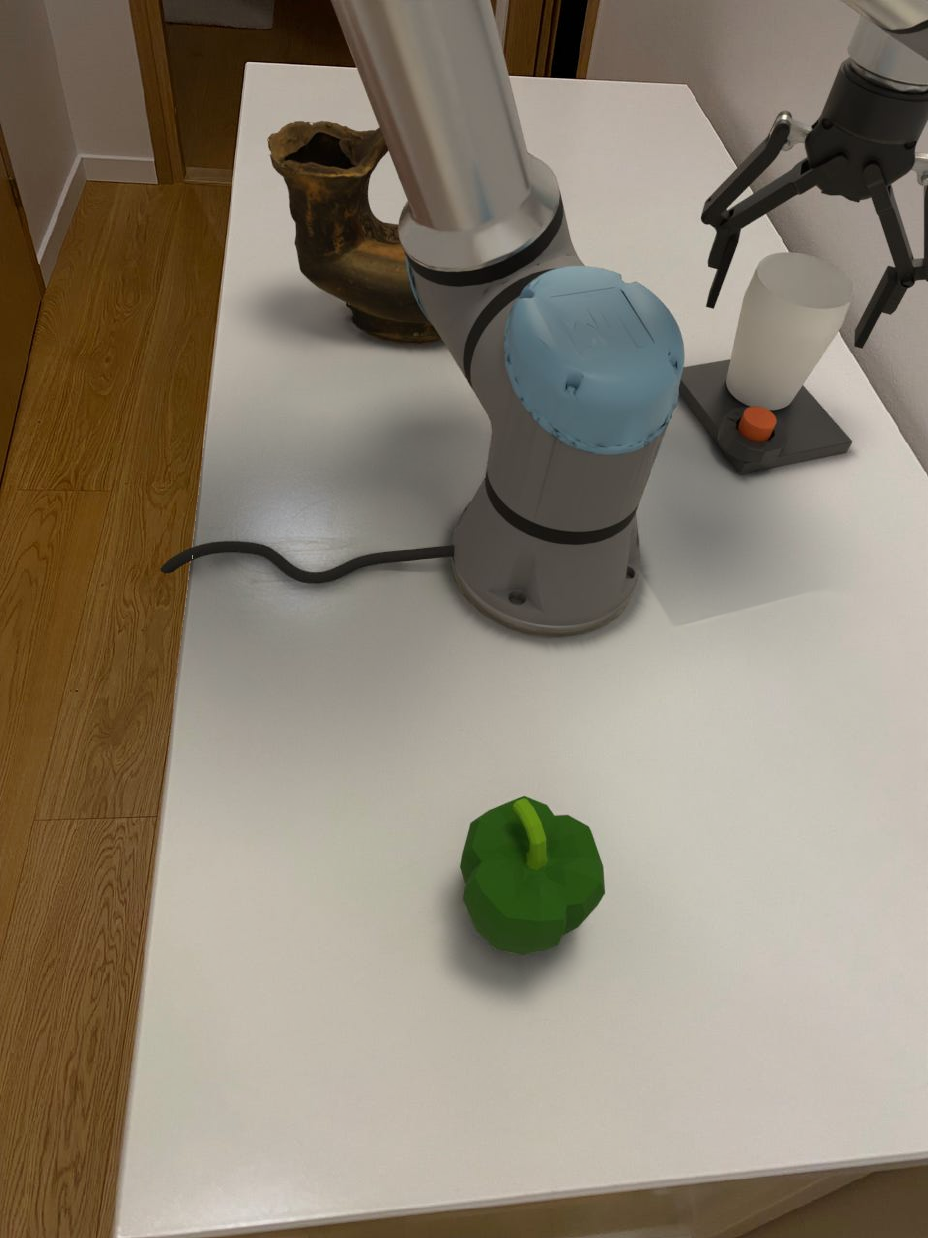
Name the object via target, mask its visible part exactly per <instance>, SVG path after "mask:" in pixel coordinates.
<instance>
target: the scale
mask: <svg viewBox="0 0 928 1238" xmlns="http://www.w3.org/2000/svg"><path fill="white" fill-rule="evenodd" d="M730 359H731V358H730ZM730 359H724V360H718V361H712V362H706V363H700V364H695V365H694V364H693V365H687V366H683V371H682V375H681V380H680V384H679V396H680V397H681V398H682V400H683V402H684V403H685V404H686V405H687V406H688V408H689V409H690V411H692V413H693V414H694V415H695V417H696V418H697V419H698V421H699V422H700V424H701V425H702V427H704V429H705V430H706V432H707V433H708V434H709V435H710V437H711V438H712V440H714V442H715V443H716V445H717V447H719V448H720V450H721V451H722V453H723V454H724V455H725V456H726V458H727V459H728V461H729V462H730V464H732V466H733V467H734V469H735V470H736V471H737V472H738V474H739V475H744V474H749V473H755V472H759V471H764V470H769V469H774V468H778V467H784V466H787V465H792V464H797V463H803V462H806V461H811V460H817V459H821V458H826V457H831V456H835V455H841V454H845V453H847V452H848V451H849V449H850V447H851V446H852V443H853V440H852V439H851V438H850V437H849V436H848V435H847V433H846V432H845V431H844V430H843V429H842V428H841V427H840V426H839V424H838V423H837V422H836V421H835V420H834V419H833V417H832V416H831V415H830V414H829V413H828V412H827V411H826V409H824V407H823V406H822V405H821V404H820V403H819V401H817V399H816V398H815V397H814V395H812V393H811V392H810V391H809V390H808V389H807V387H806V386H805V385H804V384H803V385H802V387H801V388H800V390H799V391H798V393H797V394H796V396H795V397H794V399H793V400H792V402H791V403H790V404H789V405H788V406H786V407H784V408H782V409H778V410H769V411H771V412H772V413H773V414H774V415H775V417H776V420H777V422H776V425H775V427H774V429H773V431H772V434H771V436H770V438H769V439H768V440H767V441H765V442H756V441H751V440H749V439H747V438H745V437H743V436H742V435H741V434H740V433H739V432H738V425H739V423H740V420H741V418H742V416H743V413H744V411H745V410H746V409H747V408H749V407H750V406H747V405H745V404H743V403H742V402H740V401H739V400H737V399H736V398H735V397H734V396H733V395H732V394H731V393H730V392H729V390H728V388H727V385H726V378H727V373H728V368H729V364H730Z"/></svg>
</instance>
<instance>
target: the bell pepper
mask: <svg viewBox="0 0 928 1238" xmlns="http://www.w3.org/2000/svg"><path fill="white" fill-rule="evenodd" d="M459 869H460V872H461V876H462V879H463V882H464V884H465V886H464V891H463V896H462V901H463V903H464V906H465V908H466V911H467V914H468V916H469V919H470V922H471V923H472V926H473V928H474V930H475V932H476V933H478V934H479V935H480V936H481V937H482V938H483V939H484V940H485V941H486V942H487V943H488V944H490V946H491V947H492V948H493V949H495V950H496V951H501V952H506V953H511V954H517V955H521V956H525V955H530V954H533V953H539V952H543V951H547V950H551V949H553V948H555V947H557V946H558V945H559V943H560V941H561V939H562V938H563V936H564V935H567V934H569V933H572V932H573V931H574V930H576V929H578V928H579V927H580V926H581V925H582V924H583V923H584V921H585V920H587V918H588V917H589V916H590V915H591V914H592V913H593V911H594V910H595V909H596V908H597V907H598V906H599V904H600V902H601V901H602V899H603V898H604V896H605V894H606V885H605V872H604V864H603V861H602V858H601V855H600V852H599V850H598V847H597V843H596V841H595V838H594V834H593V832H592V829H591V828H590V826H589V825H587V824H586V823H584V822H582V821H580V820H578V819H577V818H574V817H573V816H571V815H569V814H560V815H559V814H558V815H557V814H556V815H555V814H554V812H553V811H552V810H551V808H550V807H549V806H548V804H546V803H543V802H542V801H538V800H536V799H533V798H530V797H528V796H526V795H523V796H520V797H516V798H514V799H512V800H510V801H507V802H505V803H503V804H501V805H498V806H496V807H494V808H491V809H488V810H487V811H486V812H484V813H483V814H481V815H480V816H478V817H476V818H475V819H474V820H472V821H471V822H470V823H469V827H468V831H467V834H466V839H465V842H464V846H463V849H462V852H461V859H460V863H459Z"/></svg>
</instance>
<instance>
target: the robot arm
mask: <svg viewBox="0 0 928 1238" xmlns="http://www.w3.org/2000/svg"><path fill="white" fill-rule="evenodd" d="M839 1H840V2H841V3H843V4H844V5H846V6H847V7H848V8H850V9H851V10H853V11H854V12H856V13H857V14H858V15H860V17H859V19H858V21H857V24H856V26H855V29H854V31H853V34H852V37H851V39H850V41H849V43H848V46H847V48H846V49H847V54H848V57H847V58H846V59H844V60H843V61H842V62H841V63H840V65H839V68H838V71H837V73H836V75H835V78H834V80H833V83H832V85H831V88H830V91H829V93H828V95H827V98H826V101H825V104H824V105H823V107H822V108H823V109H822V111H821V113H820V115H819V117H818V118H817V120H816V121H815V122H813V123H812V125H809V124H806V123H803V122H800V121H798V120H796V119H793V114H792V113H791V112H790V111H788V110H783V111H780V112H779V113H778V114H777V116H776V117H775V119H774V121H773V124H772V125H771V128H770V130H769V132H768V134H767V136H766V137H765V138H764V140H762V141H761V142H760V144H758V145H757V147H756V148H755V149H754V150H753V151H752V152H750V154H749V155H748V156H747V157H746V158H745V159H744V160H743V161H742V162H741V163H740V165H738V166H737V167H736V168H735V169H734V171H733V172H731V174H730V175H729V176H728V177H727V178H726V179H725V180H724V181H723V182H722V183H721V184H720V185H719V186H718V187H717V188H716V190H714V191H713V192H712V194H710V195H709V196H708V198H707V199H705V201H704V203H703V207H702V211H701V213H700V214H701V215H700V221H701V222H702V224H704V225H706V226H707V225H709V226H711V227H712V228H713V229H714V230H715V232H716V234H715V236H714V240H713V242H712V245H711V248H710V251H709V253H708V258H707V267H708V268H710V269H715V270H716V272H715V274H714V277H713V280H712V283H711V286H710V288H709V291H708V295H707V298H706V299H707V300H706V303H705V308H709V309H712V310H714V309H715V307H716V304H717V302H718V298H719V296H720V293H721V291H722V287H723V285H724V282H725V280H726V277H727V274H728V272H729V269H730V267H731V263H732V261H733V258H734V255H735V253H736V250H737V248H738V245H739V240H740V236H741V231H742V229H744V228H745V227H747V226H749V225H750V224H752V223H753V222H755V221H756V220H758V219H760V218H761V217H763V216H765V215H766V214H768V213H770V212H772V211H773V210H774V209H776V208H778V207H780V206H781V205H783V204H784V203H786V202H788V201H789V200H791V199H792V198H794V197H796V196H801V195H803V194H805V193H806V192H808V191H809V190H811V189H813V188H814V187H816V188H817V189H819V191H820V193H821V194H823V195H827V196H832V197H833V196H841V197H842V198H844V199H846V200H848V201H850V202H855V203H858V204H859V203H860V202H861V201H865V200H869V199H871V201H872V204H873V207H874V211H875V213H876V215H877V216H878V219H879V222H880V225H881V228H882V232H883V235H884V237H885V240H886V243H887V246H888V249H889V253H890V255H891V258H892V262H893V264H894V265H893V266H891V265H887V267H886V268H885V270H884V272H883V274H882V276H881V278H880V280H879V282H878V284H877V286H876V288H875V290H874V292H873V294H872V295H871V297H870V300H869V302H868V304H867V306H866V308H865V309H864V312H863V313H862V315H861V316H860V319H859V321H858V323H857V325H856V326H855V329H854V340H853V341H854V343H853V347H854V348H857V349H864V347H865V345H866V343H867V341H868V340H869V337H870V335H871V333H872V332H873V330H874V328H875V326H876V324H877V322H878V320H879V319H880V316H881V314H886V315H890V316H891V315H892V314H894V313H895V312H896V311H897V309H898V307H899V305H900V304H901V302H902V299H903V298H904V296H905V294H906V293H907V291H908V289H910V288H912V287H914V286H915V283H916V282H918V281H926V282H928V153H926V152H918V151H916V147H917V144H918V142H919V139H920V137H921V136H922V134H923V131H924V130H925V127H926V125H927V123H928V0H839ZM330 2H331V5H332V7H333V10H334V13H335V16H336V18H337V20H338V23H339V26H340V28H341V31H342V33H343V36H344V39H345V41H346V44H347V46H348V49H349V52H350V54H351V57H352V59H353V62H354V64H355V67H356V70H357V72H358V75H359V77H360V80H361V83H362V85H363V88H364V91H365V93H366V96H367V98H368V101H369V104H370V106H371V109H372V111H373V114H374V117H375V119H376V122H377V124H378V128H379V127H380V130H381V132H382V135H383V138H384V140H385V143H386V145H387V148H388V153H389V156H390V158H391V160H392V163H393V166H394V169H395V171H396V174H397V177H398V179H399V182H400V185H401V187H402V190H403V193H404V194H405V197H406V202H405V204H404V206H403V208H402V210H401V212H400V216H399V219H398V224H399V225H398V234H399V239H400V242H401V245H402V247H403V249H404V252H405V254H406V266H407V272H408V276H409V279H410V282H411V288H412V291H413V294H414V296H415V298H416V300H417V302H418V304H419V306H420V308H421V310H422V311H423V313H424V314H425V316H426V317H427V319H428V320H429V321H430V322H431V323H432V324H433V326H434V327H435V329H436V331H437V332H438V334H439V336H440V337H441V340H442V342H443V344H444V345H445V347H446V349H447V351H448V352H449V353H450V355H451V356H452V358H453V360H454V362H455V363H456V365H457V366H458V368H459V370H460V371H461V373H462V374H463V376H464V378H465V380H466V382H467V383H468V385H469V387H470V388H471V390H472V392H473V393H474V394H475V396H476V399H478V402H479V403H480V405H481V406H482V408H483V410H484V412H485V414H486V415H487V417H488V419H489V423H490V428H491V437H490V443H489V450H488V456H487V462H486V464H487V465H486V469H485V475H484V478H483V480H482V482H481V483H480V485H479V486H478V488H477V489H476V492H475V493H474V494H473V496H472V498H471V500H470V501H468V503H467V505H466V506H465V507H464V509H463V510H462V512H460V513H461V514H460V515H459V517H458V519H457V522H456V525H455V527H454V531H453V534H452V541H451V544H450V545H439V546H438V545H437V546H429V547H421V548H420V547H419V548H410V549H398V550H388V551H387V550H386V551H379V552H373V553H367V554H363V555H360V556H358V557H357V556H356V557H354V558H352V559H349V560H347V561H345V562H343V563H341V564H339V565H337V566H335V567H332V568H330V569H327V570H322V571H309V570H308V571H307V570H303V569H301V568H299V567H298V566H295V565H294V564H293V563H291V562H290V561H288V559H287V558H285V557H284V556H283V555H282V554H280V552H278V551H277V550H275V549H273V548H272V547H270V546H268V545H265V544H262V543H257V542H251V541H242V540H219V541H212V542H211V541H210V542H206V543H202V544H198V545H195V546H192V547H189V548H187V549H185V550H183V551H181V552H178V553H177V554H175V555H174V556H172V557H171V558H169V559H168V560H167V561H166V562H165V563H163V565H162V566H161V567H160V568H159V570H160V572H161V573H163V574H171V573H174V572H175V571H176V570H177V569H179V568H181V567H182V566H185V564H187V563H189V562H191V561H194V560H196V559H199V558H202V557H205V556H211V555H216V554H225V553H226V554H229V553H230V554H231V553H235V554H249V555H256V556H259V557H262V558H264V559H266V560H268V561H269V562H271V563H272V564H273V566H275V567H276V568H277V569H279V571H281V572H282V573H284V574H285V575H286V576H287V577H289V578H290V579H293V580H295V581H296V582H300V583H303V584H309V585H311V584H312V585H314V584H315V585H316V584H317V585H318V584H319V585H320V584H326V583H331V582H334V581H336V580H339V579H341V578H343V577H345V576H347V575H349V574H352V573H354V572H356V571H358V570H361V569H364V568H366V567H371V566H375V565H376V566H377V565H382V564H392V563H393V564H394V563H402V562H403V563H404V562H405V563H406V562H414V561H423V560H433V559H443V558H450V564H451V566H450V567H451V570H452V573H453V576H454V579H455V581H456V583H457V585H458V588H459V589H460V590H461V592H462V593H463V595H464V596H465V598H466V599H467V600H468V601H469V602H470V603H471V604H472V605H473V606H474V607H475V608H476V609H477V610H479V611H480V612H481V613H482V614H483V615H485V616H487V617H488V618H489V619H491V620H493V621H494V622H496V623H498V624H501V625H502V626H505V627H506V628H509V629H512V630H514V631H518V632H521V633H524V634H529V635H534V636H541V637H553V638H556V637H557V638H561V637H562V638H563V637H571V636H577V635H582V634H585V633H586V634H587V633H590V632H592V631H595V630H597V629H600V628H602V627H604V626H605V625H607V624H608V623H610V622H611V621H613V620H614V619H615V618H617V617H618V616H619V615H620V614H621V613H622V612H623V611H624V609H625V608H626V607H627V605H628V604H629V602H630V600H631V598H632V596H633V593H634V591H635V588H636V585H637V583H638V579H639V574H640V569H641V544H640V542H641V535H640V534H641V533H639V524H638V523H640V519H639V518H638V516H637V511H638V508H639V505H640V502H641V500H642V497H643V495H644V491H645V489H646V486H647V483H648V482H649V481H648V480H649V478H650V475H651V472H652V469H653V467H654V464H655V461H656V459H657V456H658V453H659V450H660V448H661V446H662V443H663V440H664V437H665V435H666V432H667V429H668V426H669V423H670V421H671V419H672V417H673V413H674V411H675V409H676V407H677V404H678V399H679V396H680V394H679V384H680V380H681V375H682V371H683V367H685V344H684V343H685V342H684V340H683V335H682V332H681V329H680V327H679V324H678V322H677V320H676V319H675V317H674V315H673V313H672V312H671V311H670V309H669V308H668V306H667V305H666V304H665V303H664V302H663V301H662V299H660V297H658V296H657V295H656V294H655V293H654V292H653V291H651V290H650V289H649V288H648V287H646V286H645V285H643V284H641V283H640V282H639V281H633V282H625V281H624V280H623V275H622V274H621V273H618V272H616V271H613V270H610V269H606V268H603V267H597V266H589V265H585V263H584V262H583V261H582V260H581V258H580V257H579V255H578V253H577V251H576V249H575V246H574V244H573V241H572V238H571V234H570V229H569V225H568V220H567V216H566V211H565V207H564V202H563V197H562V194H561V189H560V185H559V181H558V179H557V176H556V174H555V171H554V170H553V168H551V166H550V165H548V164H547V163H546V162H545V161H543V160H542V159H541V158H539V157H536V156H534V155H533V154H531V155H529V154H528V153H529V152H528V147H527V144H526V141H525V136H524V132H523V128H522V124H521V120H520V115H519V112H518V107H517V104H516V100H515V95H514V91H513V87H512V83H511V79H510V75H509V71H508V67H507V62H506V58H505V54H504V51H503V47H502V42H501V40H500V39H501V38H500V33H499V30H498V26H497V22H496V17H495V14H494V10H493V6H492V2H491V0H330ZM801 143H802V144H804V150H805V154H806V157H805V158H803V159H801V160H800V161H798V162H797V163H796V164H795V165H794V166H793V167H792V168H791V169H790V170H788V171H787V172H785V173H784V174H781V176H779V177H777V178H776V179H774V180H772V181H771V182H770V183H768V184H766V185H765V186H763V187H762V188H760V189H758V190H757V191H755V192H753V193H752V194H751V195H749V196H747V197H746V198H744V199H743V200H741V201H739V202H738V203H737V204H735V205H733V206H732V207H731V205H732V204H733V203H734V202H735V201H736V200H737V199H738V198H739V197H740V196H741V195H742V194H743V193H744V192H745V191H746V190H747V189H748V188H749V187H750V186H751V185H752V184H753V183H754V182H755V181H756V180H757V179H758V178H759V177H760V176H761V175H762V174H763V173H764V172H765V171H766V170H767V169H768V168H769V167H770V166H771V165H772V164H773V163H774V162H775V160H776V159H777V157H778V156H779V155H780V153H781V151H782V152H789V151H790V150H791V149H793V147H794V146H795V145H797V144H801ZM532 155H533V156H532ZM911 171H913V172H915V173H916V182H917V184H918V185H920V186H922V187H923V257H921V258H915V257H914V255H913V251H912V248H911V244H910V242H909V238H908V235H907V232H906V228H905V226H904V223H903V220H902V216H901V213H900V209H899V206H898V204H897V200H896V197H895V193H894V188H893V185H892V184H894V183H895V182H897V181H899V180H900V179H901V178H903V177H904V176H906V175H907V174H908V173H910V172H911ZM729 207H730V208H729ZM192 555H193V559H192Z"/></svg>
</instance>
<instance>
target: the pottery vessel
mask: <svg viewBox="0 0 928 1238" xmlns="http://www.w3.org/2000/svg"><path fill="white" fill-rule="evenodd" d="M266 141H267V147H268V150H269V152H270V154H269V157H270V161H271V166H272V168H273V169H274V170H275V171H276V172H277V173H278V175H280V176H281V177H282V178H283V180H284V183H285V185H286V187H287V188H286V189H287V192H288V201H289V202H288V204H289V205H288V206H289V212H290V213H289V214H290V216H291V219H292V220H293V221H294V223H295V224H294V225H295V236H294V241H293V243H294V245H295V250H296V255H297V261H298V267H299V271H300V273H301V274H302V275H303V277H305V278H306V279H307V280H308V281H309V282H311V283H312V284H313V285H314V286H315V287H317V288H318V289H320V290H321V291H323V292H325V293H327V294H328V295H331V296H333V297H334V298H337V299H339V300H341V301H342V302H344V303H345V307H346V308H347V309H349V310H350V312H351V315H352V316H351V318H350V320H351V323H352V324H353V325H354V326H355V327H356V328H357V329H359V330H360V331H363V332H364V333H365V334H367V335H369V336H370V337H373V338H375V339H378V340H382V341H385V342H388V343H394V344H401V345H428V344H433V343H437V342H439V341H441V340H442V339H441V337H440V336H439V334H438V332H437V331H436V329H435V327H434V326H433V324H432V323H431V322H430V321H429V320H428V319H427V317H426V316H425V314H424V313H423V311H422V310H421V308H420V306H419V304H418V302H417V300H416V298H415V296H414V294H413V291H412V288H411V282H410V279H409V276H408V272H407V266H406V254H405V252H404V249H403V247H402V245H401V242H400V239H399V234H398V225H399V223H398V224H397V223H391V222H390V223H389V222H384V221H382V220H380V219H379V218H378V217H377V216H376V215H375V214H374V212H373V211H372V208H371V205H370V200H369V186H370V180H371V177H372V174H373V172H374V170H376V168H377V166H378V164H379V163H380V162H381V160H382V159H383V158H384V157H385V156H386V154H388V153H389V151H388V148H387V145H386V143H385V140H384V138H383V135H382V132H381V130H380V127H379V126H378V128H376V129H372V130H371V129H370V130H361V131H359V130H356V129H355V130H354V129H353V128H350V127H349V126H347V125H341V124H339V123H338V122H332V121H327V120H320V121H316V122H310V121H304V120H303V121H302V120H298V121H293V122H288V123H287V124H285V125H284V126H282V127H281V128H280V130H279V131H277V132H274V133H271V134H270V135H269V136H268V137H267V140H266ZM528 154H529V155H532V156H534V155H533V154H531V153H530V152H528Z"/></svg>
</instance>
